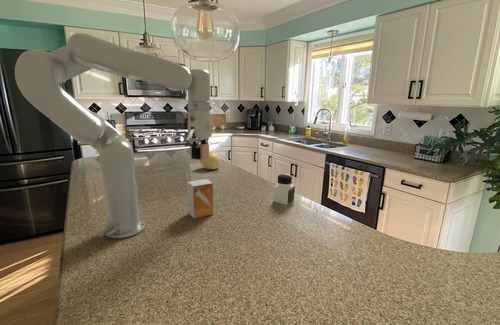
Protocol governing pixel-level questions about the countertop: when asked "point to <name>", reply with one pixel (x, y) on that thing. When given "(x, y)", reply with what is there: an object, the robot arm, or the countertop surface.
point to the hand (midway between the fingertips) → (200, 156)
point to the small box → (200, 198)
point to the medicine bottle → (284, 190)
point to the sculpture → (211, 161)
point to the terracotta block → (202, 152)
